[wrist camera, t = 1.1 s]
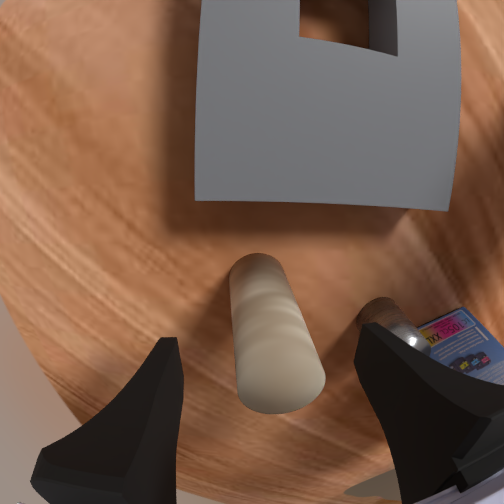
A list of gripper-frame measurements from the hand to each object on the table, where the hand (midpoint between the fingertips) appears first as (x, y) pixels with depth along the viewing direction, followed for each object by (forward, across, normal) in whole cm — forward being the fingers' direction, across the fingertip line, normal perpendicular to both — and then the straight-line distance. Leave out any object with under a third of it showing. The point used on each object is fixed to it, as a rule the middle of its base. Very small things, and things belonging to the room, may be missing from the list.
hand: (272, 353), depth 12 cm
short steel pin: (+6, -8, +3) cm, 11 cm away
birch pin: (+6, 0, 0) cm, 6 cm away
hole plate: (+6, -4, -14) cm, 16 cm away
